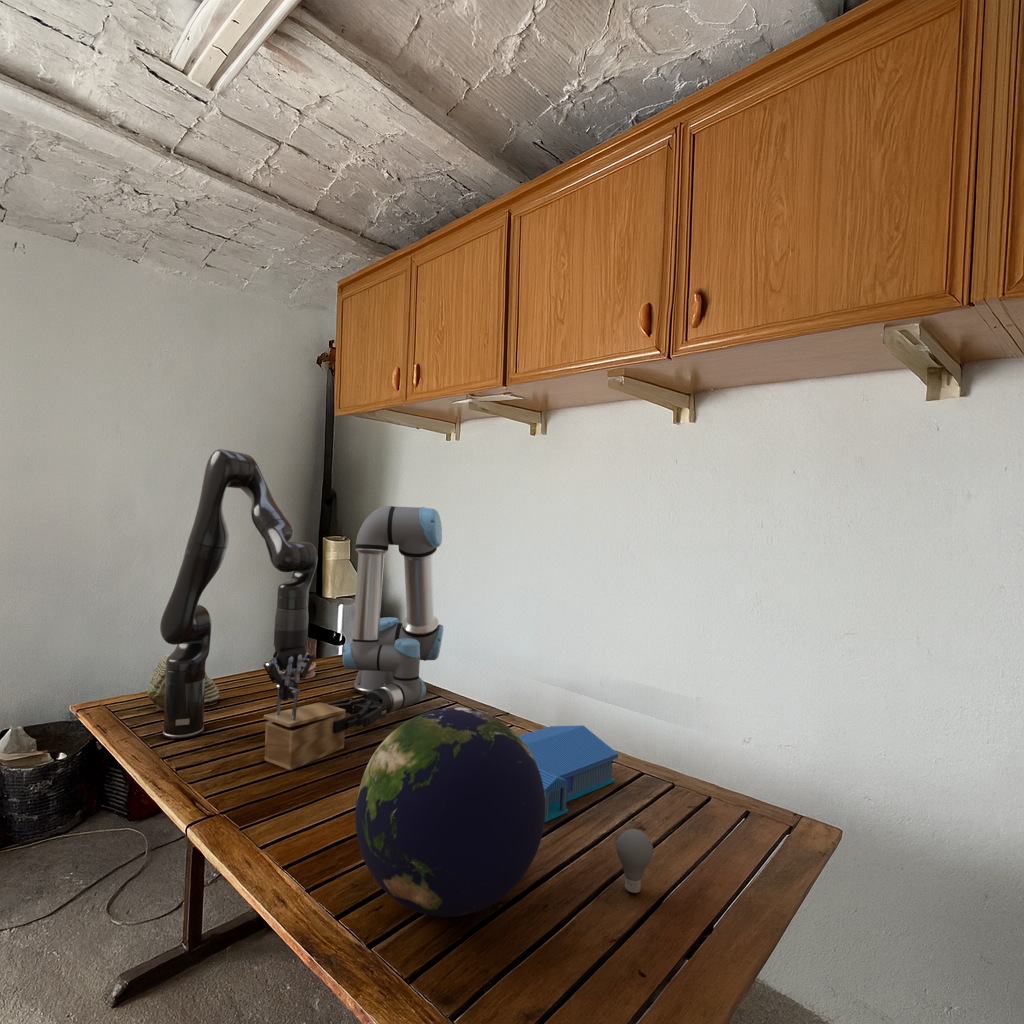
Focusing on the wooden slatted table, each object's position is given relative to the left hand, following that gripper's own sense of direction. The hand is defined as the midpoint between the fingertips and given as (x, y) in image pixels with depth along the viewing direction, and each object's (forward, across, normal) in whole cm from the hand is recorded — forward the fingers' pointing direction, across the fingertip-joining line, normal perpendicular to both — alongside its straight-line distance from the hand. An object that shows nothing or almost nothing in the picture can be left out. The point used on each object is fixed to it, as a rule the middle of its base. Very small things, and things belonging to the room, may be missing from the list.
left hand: (287, 698), depth 150 cm
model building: (+15, +22, -54) cm, 60 cm away
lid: (+5, +6, 0) cm, 8 cm away
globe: (+15, -19, -63) cm, 67 cm away
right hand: (+9, +10, 0) cm, 13 cm away
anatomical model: (+15, +48, +55) cm, 75 cm away
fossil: (+15, +8, +54) cm, 57 cm away
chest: (+15, +6, 0) cm, 16 cm away
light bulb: (+15, +1, -86) cm, 88 cm away
